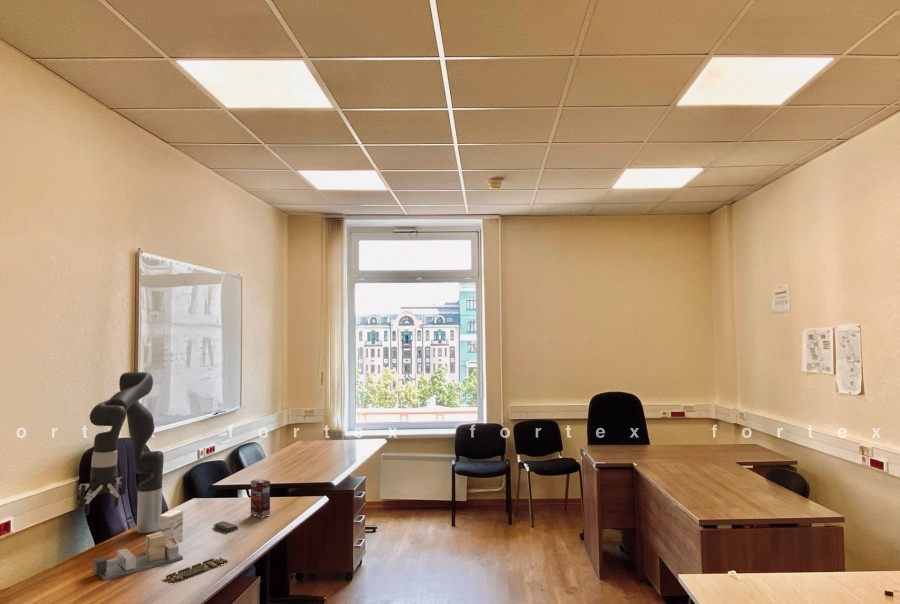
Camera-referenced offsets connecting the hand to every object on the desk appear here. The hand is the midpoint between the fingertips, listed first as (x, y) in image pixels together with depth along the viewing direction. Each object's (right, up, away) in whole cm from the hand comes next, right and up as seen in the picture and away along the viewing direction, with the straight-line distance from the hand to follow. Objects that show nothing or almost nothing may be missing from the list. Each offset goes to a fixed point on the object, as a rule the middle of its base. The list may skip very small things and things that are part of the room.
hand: (100, 511), depth 187 cm
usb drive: (+23, -26, +47) cm, 58 cm away
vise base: (+9, -23, +9) cm, 26 cm away
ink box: (+8, -25, +31) cm, 40 cm away
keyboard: (+32, -22, +2) cm, 39 cm away
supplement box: (+32, -27, +65) cm, 77 cm away
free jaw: (+3, -21, +3) cm, 21 cm away
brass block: (+12, -22, +13) cm, 28 cm away
